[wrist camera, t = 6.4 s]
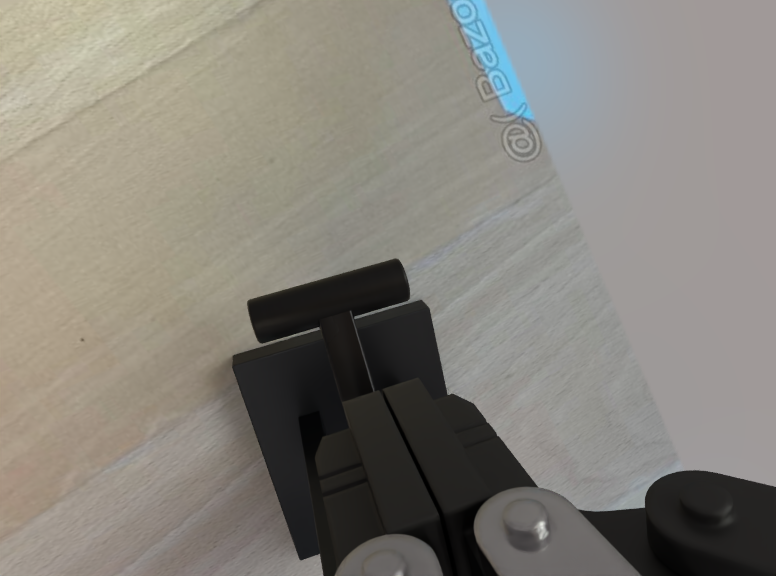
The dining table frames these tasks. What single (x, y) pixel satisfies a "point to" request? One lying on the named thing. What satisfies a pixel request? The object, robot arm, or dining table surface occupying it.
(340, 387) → the lever
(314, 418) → the bracket
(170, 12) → the dining table surface
